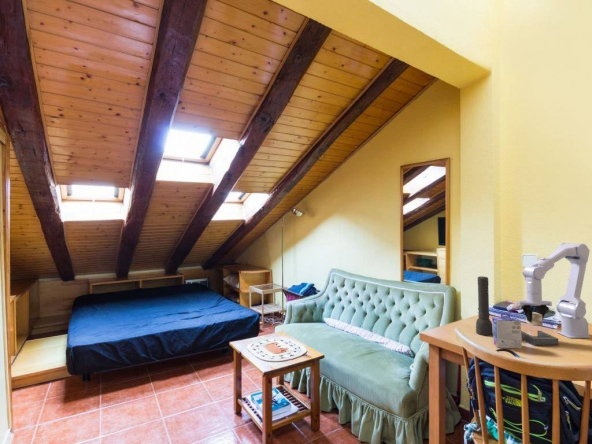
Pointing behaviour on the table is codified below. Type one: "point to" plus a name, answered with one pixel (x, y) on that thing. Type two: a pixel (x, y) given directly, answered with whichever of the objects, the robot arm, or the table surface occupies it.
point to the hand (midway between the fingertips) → (534, 321)
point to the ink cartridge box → (507, 332)
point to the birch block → (535, 319)
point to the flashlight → (483, 309)
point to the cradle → (540, 339)
